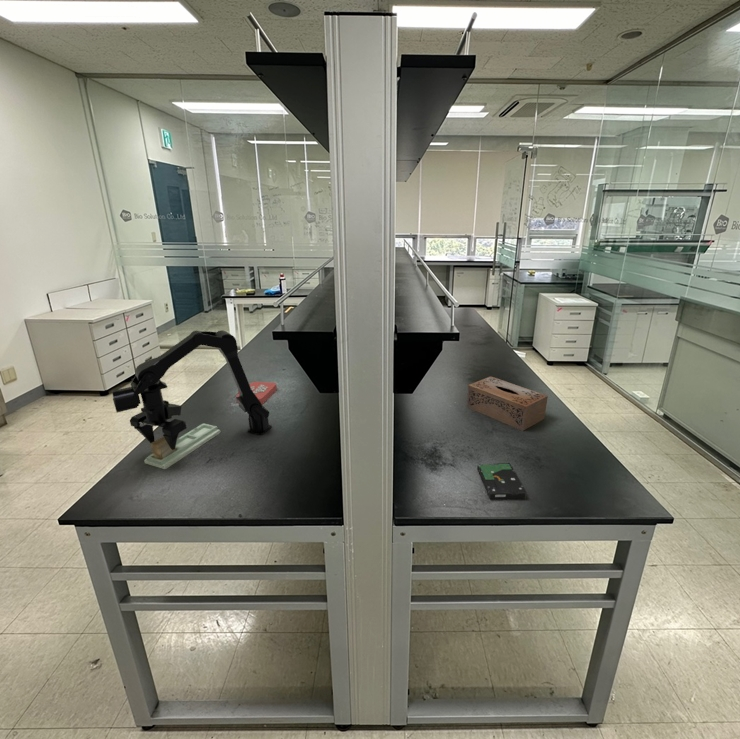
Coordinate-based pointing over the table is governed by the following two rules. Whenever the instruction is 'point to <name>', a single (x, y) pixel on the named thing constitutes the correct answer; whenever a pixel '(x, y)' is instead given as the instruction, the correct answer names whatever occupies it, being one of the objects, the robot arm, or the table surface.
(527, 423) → the tissue box cover
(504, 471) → the disk drive
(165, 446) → the tan rectangular box
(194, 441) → the rail board
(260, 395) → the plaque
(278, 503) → the table surface
